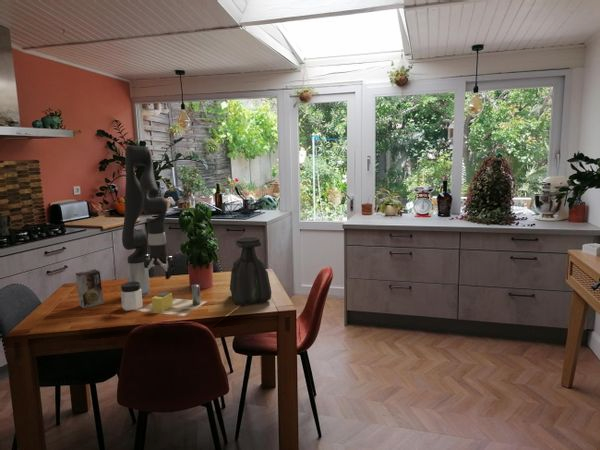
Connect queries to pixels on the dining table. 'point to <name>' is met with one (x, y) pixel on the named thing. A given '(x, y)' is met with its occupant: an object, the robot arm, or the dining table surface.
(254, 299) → the dark grey vase
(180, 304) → the panel
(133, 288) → the jar
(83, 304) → the coffee box
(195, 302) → the peg
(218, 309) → the dining table surface
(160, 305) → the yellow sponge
